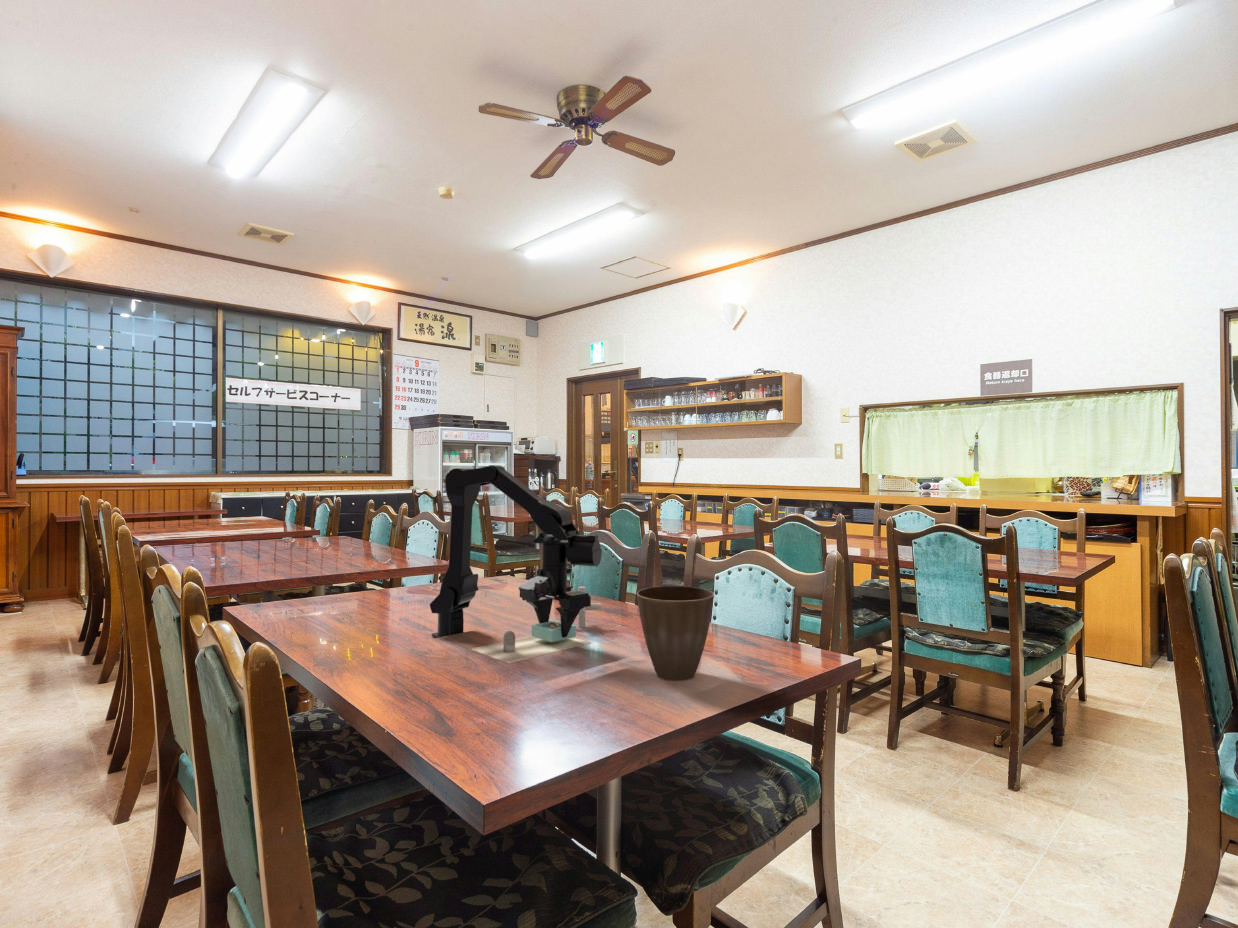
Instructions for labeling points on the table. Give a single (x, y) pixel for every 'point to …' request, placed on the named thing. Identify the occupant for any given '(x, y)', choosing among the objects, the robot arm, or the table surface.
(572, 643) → the birch stand board
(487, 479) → the robot arm
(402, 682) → the table surface
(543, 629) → the teal collar
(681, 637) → the plant pot
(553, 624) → the bronze post
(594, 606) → the pipe connector
